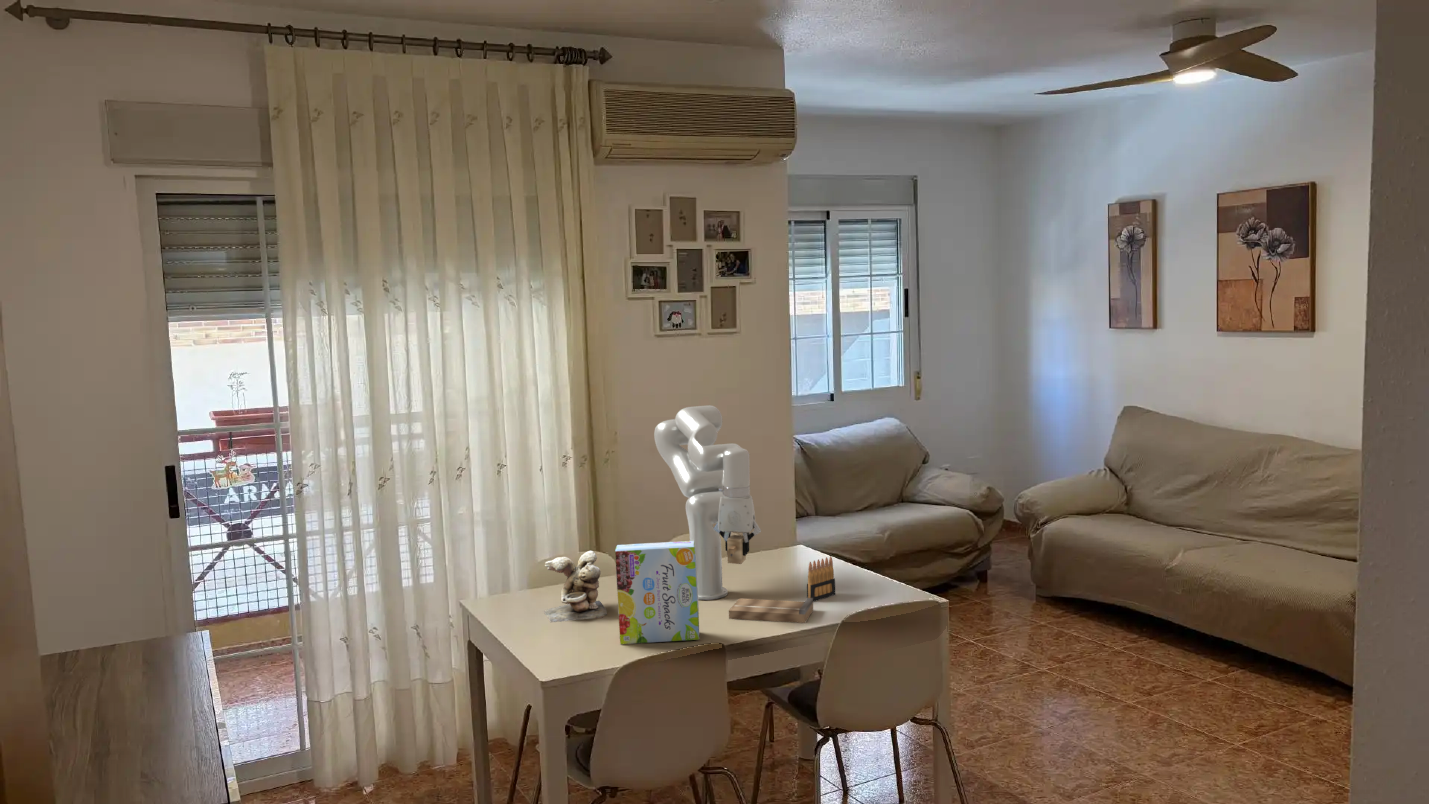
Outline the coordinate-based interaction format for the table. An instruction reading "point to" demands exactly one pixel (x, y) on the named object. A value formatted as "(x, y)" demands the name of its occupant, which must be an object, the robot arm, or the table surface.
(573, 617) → the cherub figurine
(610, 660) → the table surface
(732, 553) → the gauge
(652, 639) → the snack box
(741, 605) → the board
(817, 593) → the ammunition clip
